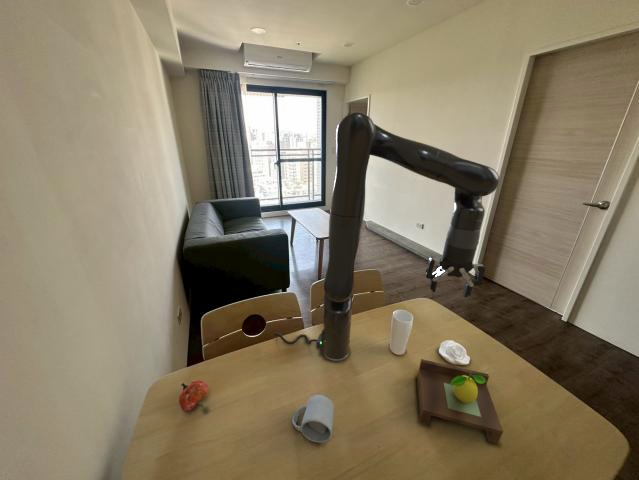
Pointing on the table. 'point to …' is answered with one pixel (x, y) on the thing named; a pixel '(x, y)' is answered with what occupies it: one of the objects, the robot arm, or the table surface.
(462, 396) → the lemon
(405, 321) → the drinking glass
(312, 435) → the ceramic mug
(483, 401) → the wooden serving tray
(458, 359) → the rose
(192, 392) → the red rounded piece
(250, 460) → the table surface
